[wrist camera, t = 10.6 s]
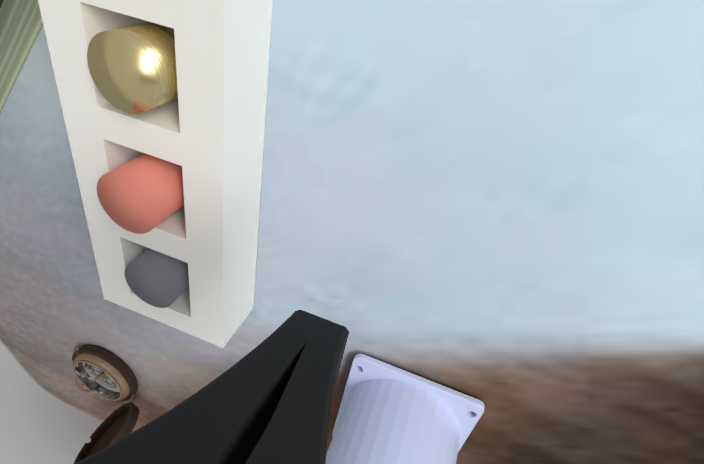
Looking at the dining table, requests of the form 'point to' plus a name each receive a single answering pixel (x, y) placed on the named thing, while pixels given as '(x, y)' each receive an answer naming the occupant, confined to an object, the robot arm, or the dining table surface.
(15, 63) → the hardcover book
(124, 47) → the brass plug
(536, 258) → the dining table surface
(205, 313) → the socket board
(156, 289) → the gray plug
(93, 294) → the dining table surface
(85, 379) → the compass
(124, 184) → the red plug
